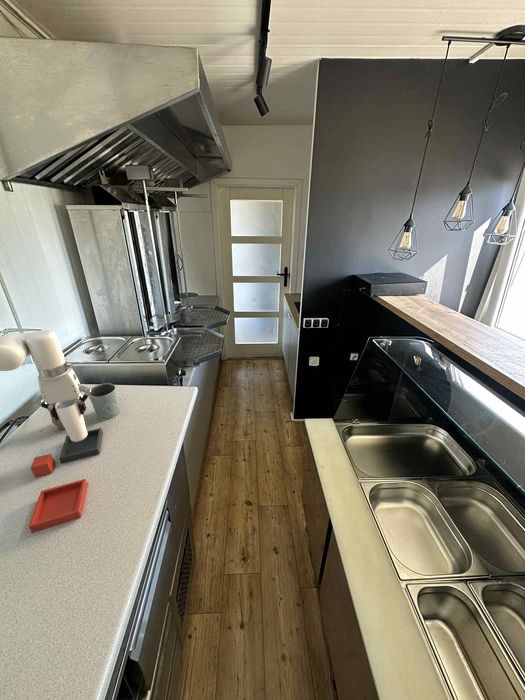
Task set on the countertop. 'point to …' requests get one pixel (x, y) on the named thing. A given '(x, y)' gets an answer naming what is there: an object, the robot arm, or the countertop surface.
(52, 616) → the countertop surface
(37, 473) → the red block
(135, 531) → the countertop surface
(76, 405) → the drinking glass
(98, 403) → the green pot
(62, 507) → the red tray
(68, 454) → the graphite tray
